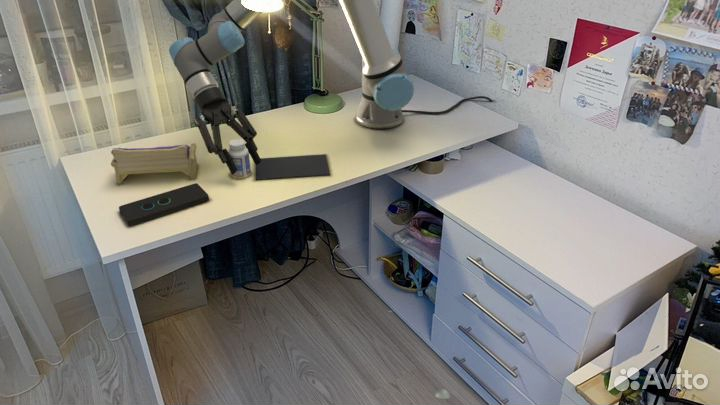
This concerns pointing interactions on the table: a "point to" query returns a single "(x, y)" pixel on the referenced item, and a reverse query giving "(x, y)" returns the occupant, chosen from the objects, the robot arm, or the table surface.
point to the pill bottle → (240, 158)
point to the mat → (292, 167)
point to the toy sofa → (154, 160)
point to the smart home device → (163, 204)
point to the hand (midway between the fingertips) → (246, 167)
